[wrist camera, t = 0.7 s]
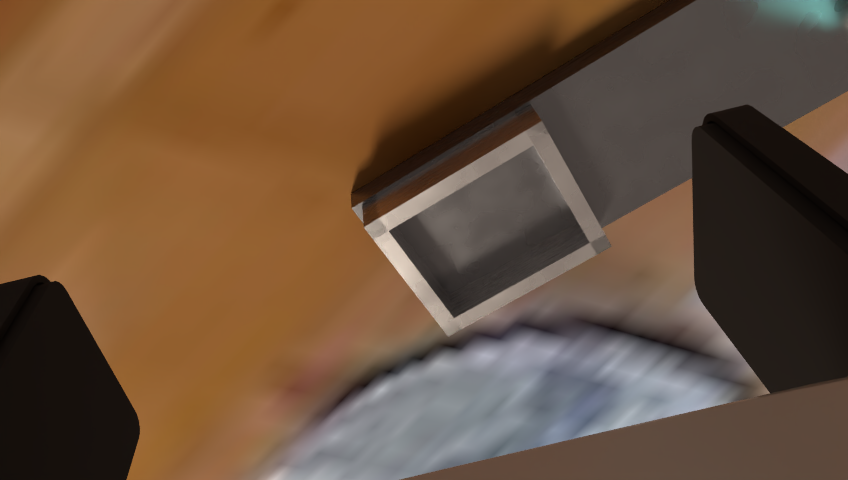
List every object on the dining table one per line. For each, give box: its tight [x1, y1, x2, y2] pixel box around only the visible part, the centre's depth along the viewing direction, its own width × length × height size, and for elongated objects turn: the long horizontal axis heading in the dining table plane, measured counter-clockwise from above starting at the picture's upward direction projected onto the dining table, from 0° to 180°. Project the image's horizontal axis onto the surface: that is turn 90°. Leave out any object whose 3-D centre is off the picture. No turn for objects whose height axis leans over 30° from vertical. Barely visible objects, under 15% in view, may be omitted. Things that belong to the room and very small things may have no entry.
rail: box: [351, 0, 848, 336], centre depth 31 cm, size 32×8×10 cm, turn 121°
